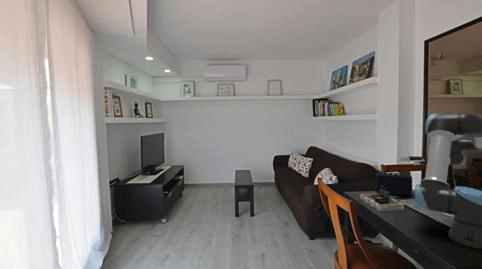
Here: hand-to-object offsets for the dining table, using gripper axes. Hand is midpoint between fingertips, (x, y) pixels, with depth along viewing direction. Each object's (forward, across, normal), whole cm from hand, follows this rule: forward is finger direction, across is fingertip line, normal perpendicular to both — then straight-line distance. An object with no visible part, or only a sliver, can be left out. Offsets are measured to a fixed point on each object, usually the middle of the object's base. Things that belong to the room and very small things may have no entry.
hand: (406, 160), depth 161 cm
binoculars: (+16, 0, -27) cm, 32 cm away
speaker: (-5, +22, -28) cm, 36 cm away
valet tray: (+17, 0, -28) cm, 33 cm away
